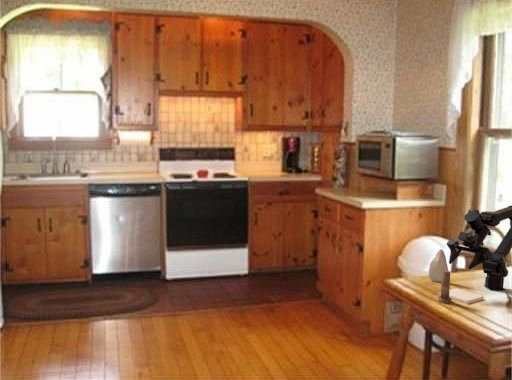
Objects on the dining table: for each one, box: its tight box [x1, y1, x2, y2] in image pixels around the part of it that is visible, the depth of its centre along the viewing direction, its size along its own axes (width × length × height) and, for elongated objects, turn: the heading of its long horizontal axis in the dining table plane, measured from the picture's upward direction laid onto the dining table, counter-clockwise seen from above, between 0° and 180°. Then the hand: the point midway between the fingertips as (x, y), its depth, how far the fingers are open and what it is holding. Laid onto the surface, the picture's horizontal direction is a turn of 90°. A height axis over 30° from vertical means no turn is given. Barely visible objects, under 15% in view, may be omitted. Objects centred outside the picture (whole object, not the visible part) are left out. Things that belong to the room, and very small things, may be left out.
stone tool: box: [427, 248, 449, 283], centre depth 245 cm, size 8×3×15 cm, turn 68°
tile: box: [439, 287, 484, 305], centre depth 223 cm, size 11×13×1 cm
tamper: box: [437, 270, 452, 305], centre depth 217 cm, size 5×5×12 cm
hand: (459, 266), depth 220 cm, fingers open, 9 cm apart
